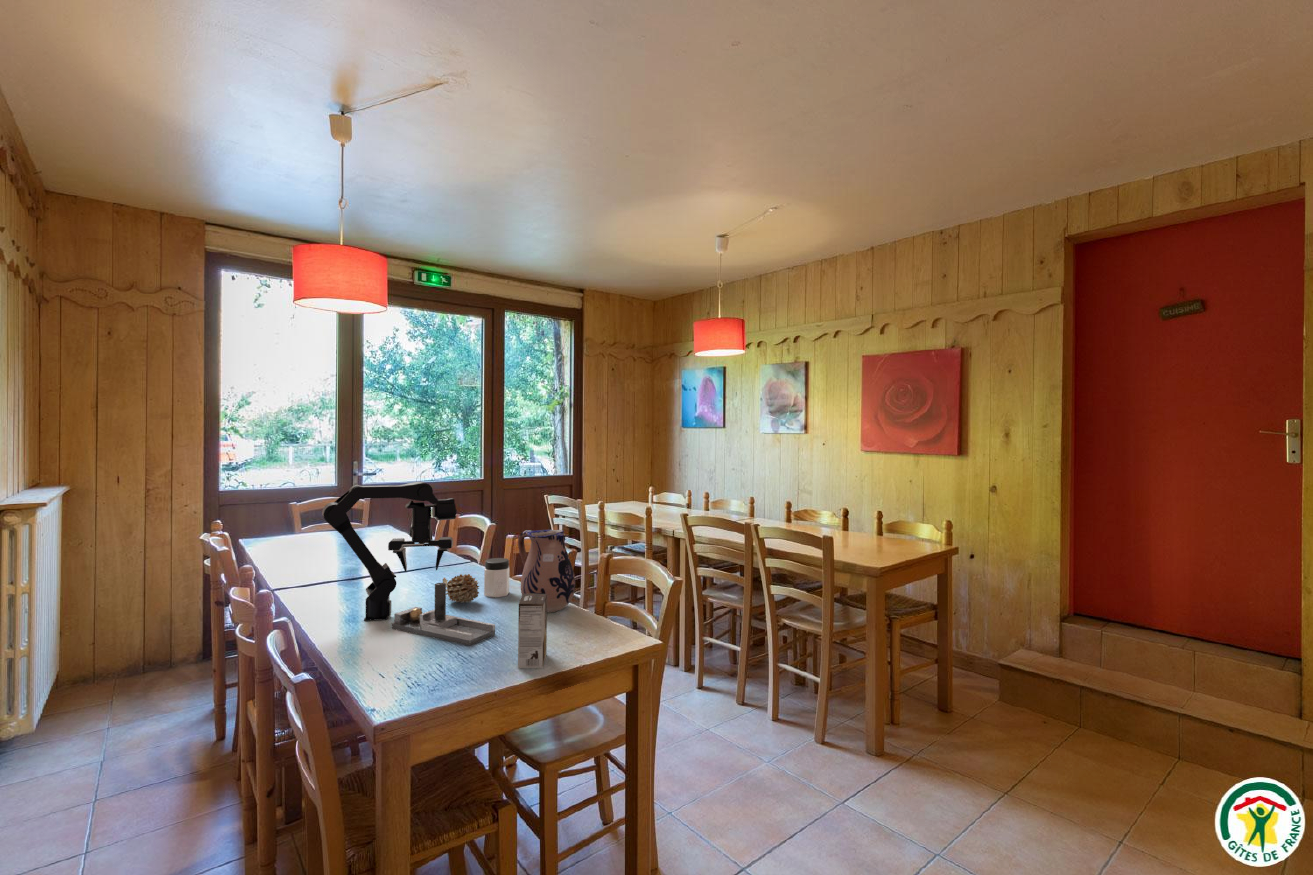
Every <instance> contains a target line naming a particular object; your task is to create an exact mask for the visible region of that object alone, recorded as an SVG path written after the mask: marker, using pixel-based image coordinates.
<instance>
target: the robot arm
mask: <svg viewBox="0 0 1313 875" xmlns="http://www.w3.org/2000/svg"><path fill="white" fill-rule="evenodd" d="M433 492H434V490H433V488H432V485H430V483H427V482H424V481H421V480H420V481H413V482H408V483H404V484H399V485H360V484H354V485H352V486H351V487H350V488H349V489H348V490H347V491H345V493H344V494H342V495H341V496H339V497H338V498H337V499H336V500H335V501H334V502H328V503H327V504H325V505H324V506H323V507H322V511H321V512H322V513H321V514H322V517H323V519H324V520H325V522H327V524H328V525H330V526H331V527H332V528H333V529H335V531H337V533H339V535H341V536H342V538H343V539H344V540H345V542H346V543H347V544H348V545H349V548H351V549H352V551H353V552H354V554H355V555H356V557H357V558H358V559H359V561H360V562H361V563H362V565H363V566H364V567H365V569H366V570H367V573H368V574H369V577H370V579H371V583H370V584H369V585H368V586H367V587H366V588H365V591H366V594H367V597H366V598H365V617H364V619H363V621H364V622H366V621H367V622H368V621H385V620H388V619H389V617H390V616H391V615H392V600H390V598H391V597H390V595H391V593H392V592H394V590H395V589H396V587H397V580H396V578H397V575H396V574H395V572H393V571H392V570H391V567H390V566H389V565H388V563H387V562H385V563H384V564H383V565H382V564H381V563H380V562H379V561H378V560H377V559H376V558H375V556H374V555H373V554H372V552H371V551H370V549H369V547H367V545H366V544H365V543H364V541H363V540H362V538H361V537H360V535H359V534H358V533H357V531H356V530H355V529H354V527H353V525H352V522H351V521H350V519H349V516H348V514H347V513H348V512H349V511H350V510H351V509H352V508H353V507H354V506H355V505H356V504H357V503H358V502H359V501H360V500H361V499H364V500H366V499H397V498H398V499H408V500H409V501H408V503H406V504H405V505H404V507H405V508H406V509H411V526H409V534H408V535H409V537H410V538H411V540H405V538H402V537H401V538H392V539H391V540H390V541H389V542H388V546H387V549H388V551H392V553H393V554H396V556H397V557H398V560H400V563H401V565H402V568H403V570H404V572H407V571H408V563H407V553H406V548H409V547H410V548H413V547H438V548H437V550H436V551H437V552H436V562H435V571H438V569H439V566H440V563H441V559H442V556H443V555H444V553H445V552H448V551H449V549H452V548H453V546H454V538H453V537H452V536H445V537H444V536H443V537H441V536H440V537H439V539H433V529H432V518H435V520H436V521H448V520H449V521H450V520H452V521H453V520H455V519H456V518H457V513H458V511H457V508H456V503H455V498H447V499H446V498H445V499H444V498H443V499H438V498H437V497H436V495H435V494H434V493H433ZM414 501H417V502H414ZM425 502H428V503H430V504H425Z"/></svg>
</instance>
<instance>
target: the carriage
mask: <svg viewBox="0 0 1313 875" xmlns="http://www.w3.org/2000/svg"><path fill="white" fill-rule="evenodd" d="M446 589H447V587H446V583H443V582H438V583H437V582H435V584H434V609H432V610H428V611H425V612H422V614H420V627H421V625H422V624H428V625H433V626H438V627H442V628H447V627H450V626H453V625H455V624H457V617H458V616H455V615H450V614H447V612H446V610H447V606H446V605H447V602H446V599H447V595H446V593H447V592H446Z"/></svg>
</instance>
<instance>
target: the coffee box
mask: <svg viewBox="0 0 1313 875" xmlns="http://www.w3.org/2000/svg"><path fill="white" fill-rule="evenodd" d="M547 613H548V612H547V594H535V593H527V594H522V593H521V597H520V600H519V602H518V626H517V627H518V628H517V629H518V633H517V634H518V635H517V639H518V640H517V647H518V648H517V669H543V668H544V666H545V662H546V657H547V652H548V650H547V649H548V648H547V647H548V645H547V641H548V640H547V639H548V637H547V634H548V633H547V632H548V630H547V628H548V627H547V625H548V623H547V622H548V621H547V617H548V614H547Z"/></svg>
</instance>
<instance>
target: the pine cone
mask: <svg viewBox="0 0 1313 875" xmlns="http://www.w3.org/2000/svg"><path fill="white" fill-rule="evenodd" d="M442 583H446V596H448V598H449V599H448V600H451V601H452V602H455V603H456V604H458V603H461V604H466V603H470V602H472V601H474V600H475V599H476V598H478V597H479V594H480V592H479V590H480V585H479V584H480V582H478V580H476V577H473V575H471V574H469V573H468V574H466V573H465V574H462V573H460V574H459V575H455V576H454V577H451V579H449V580H448V579H447V578H446V577H443V578H442Z"/></svg>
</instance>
